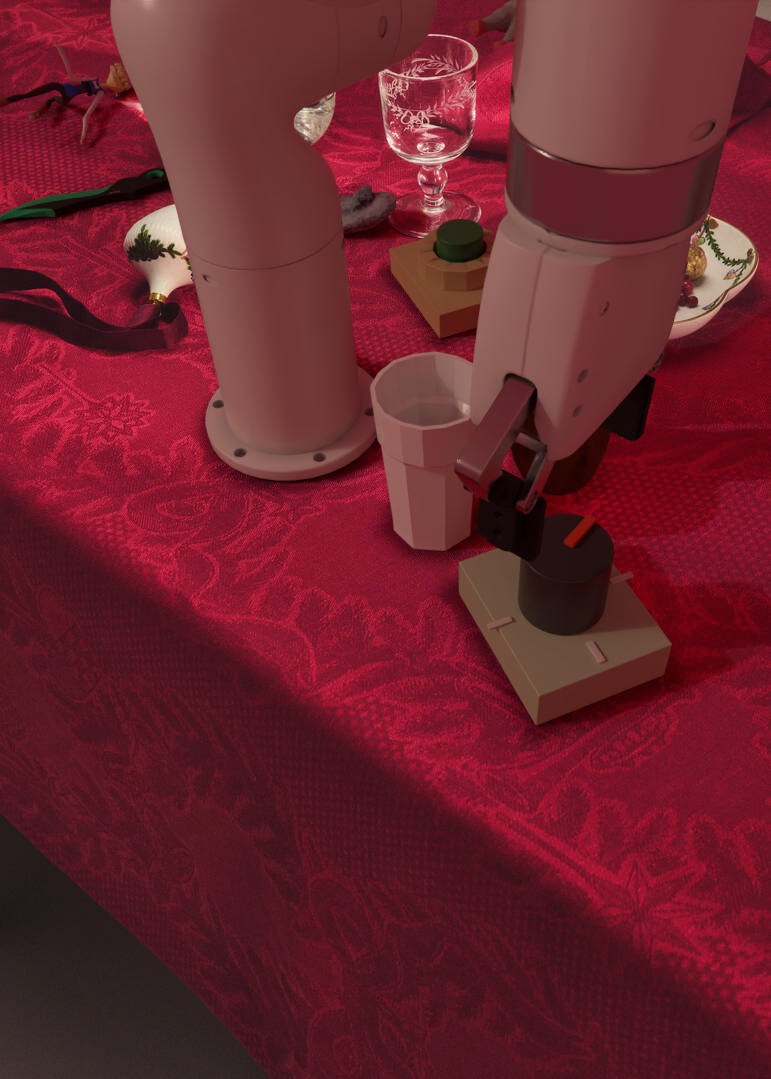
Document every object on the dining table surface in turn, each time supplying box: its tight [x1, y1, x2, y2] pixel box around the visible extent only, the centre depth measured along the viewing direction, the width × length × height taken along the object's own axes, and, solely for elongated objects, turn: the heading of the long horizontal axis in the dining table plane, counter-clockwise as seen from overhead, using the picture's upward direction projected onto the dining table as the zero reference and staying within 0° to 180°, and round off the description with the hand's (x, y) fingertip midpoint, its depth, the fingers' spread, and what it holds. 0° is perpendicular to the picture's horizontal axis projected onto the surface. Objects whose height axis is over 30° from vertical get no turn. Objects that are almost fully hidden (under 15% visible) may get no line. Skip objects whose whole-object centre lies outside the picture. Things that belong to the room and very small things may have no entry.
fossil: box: [339, 184, 398, 235], centre depth 86 cm, size 8×4×5 cm
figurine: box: [0, 39, 132, 146], centre depth 101 cm, size 10×9×20 cm
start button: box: [436, 218, 484, 263], centre depth 77 cm, size 4×4×2 cm
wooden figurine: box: [510, 413, 612, 496], centre depth 60 cm, size 7×6×15 cm
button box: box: [389, 227, 496, 339], centre depth 79 cm, size 10×8×4 cm
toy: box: [468, 0, 516, 51], centre depth 109 cm, size 11×5×15 cm
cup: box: [370, 351, 478, 552], centre depth 60 cm, size 7×7×11 cm
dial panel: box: [458, 547, 673, 726], centre depth 57 cm, size 10×9×3 cm
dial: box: [518, 513, 615, 635], centre depth 54 cm, size 5×5×5 cm
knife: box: [0, 167, 171, 222], centre depth 94 cm, size 23×1×5 cm
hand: (562, 483), depth 49 cm, fingers open, 9 cm apart
